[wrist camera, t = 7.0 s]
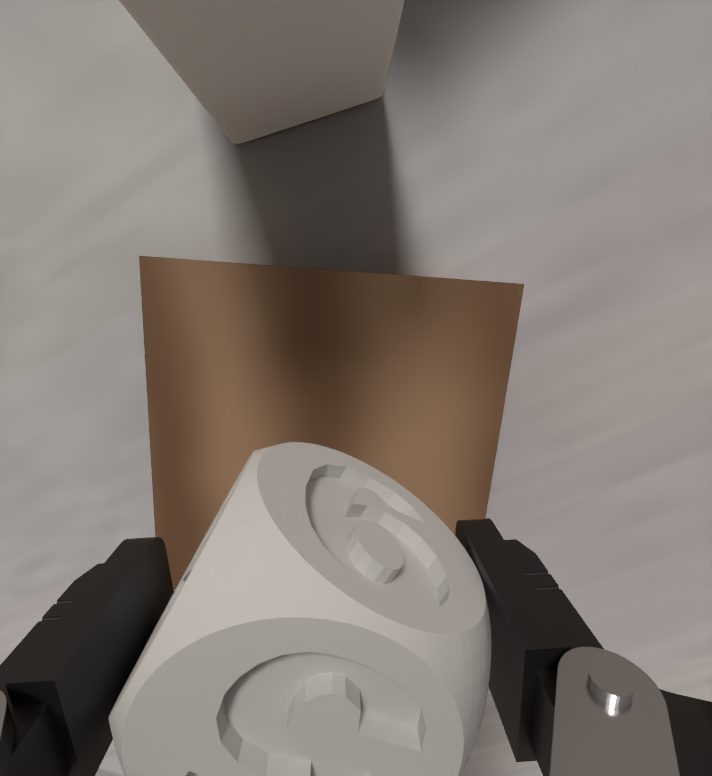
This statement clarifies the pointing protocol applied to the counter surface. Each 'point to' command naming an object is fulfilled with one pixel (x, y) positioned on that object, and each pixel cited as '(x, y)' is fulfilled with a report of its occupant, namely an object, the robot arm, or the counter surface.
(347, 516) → the die
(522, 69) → the counter surface
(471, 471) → the walnut block
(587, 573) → the counter surface
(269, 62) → the milk carton
